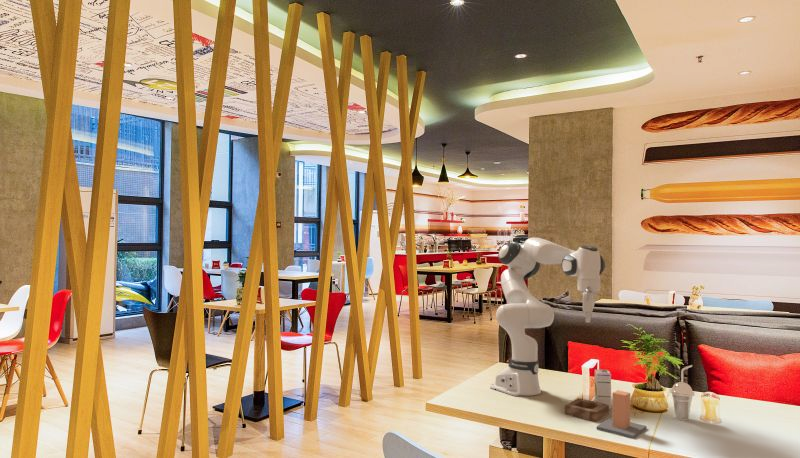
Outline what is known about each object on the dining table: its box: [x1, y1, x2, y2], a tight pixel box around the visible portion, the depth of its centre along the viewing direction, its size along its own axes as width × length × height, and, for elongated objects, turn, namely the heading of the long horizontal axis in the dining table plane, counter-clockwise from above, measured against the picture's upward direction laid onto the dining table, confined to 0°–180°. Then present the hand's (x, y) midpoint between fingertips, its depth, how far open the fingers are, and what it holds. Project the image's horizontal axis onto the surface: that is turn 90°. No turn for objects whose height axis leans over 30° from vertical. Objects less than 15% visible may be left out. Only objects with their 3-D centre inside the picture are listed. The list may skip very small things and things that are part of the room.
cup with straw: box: [669, 364, 695, 422], centre depth 210 cm, size 8×9×20 cm
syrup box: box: [594, 369, 612, 410], centre depth 223 cm, size 6×6×14 cm
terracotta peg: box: [612, 390, 631, 429], centre depth 199 cm, size 4×4×12 cm
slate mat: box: [596, 417, 647, 440], centre depth 199 cm, size 13×13×1 cm
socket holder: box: [564, 397, 610, 423], centre depth 215 cm, size 12×12×4 cm
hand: (588, 320), depth 222 cm, fingers open, 8 cm apart
